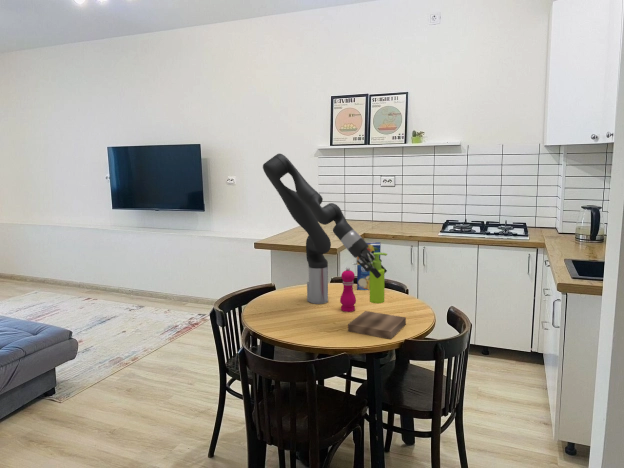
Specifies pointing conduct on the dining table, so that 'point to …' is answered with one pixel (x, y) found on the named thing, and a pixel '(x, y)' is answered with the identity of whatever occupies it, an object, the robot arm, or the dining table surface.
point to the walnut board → (377, 324)
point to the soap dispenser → (377, 282)
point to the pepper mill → (348, 291)
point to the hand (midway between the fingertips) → (382, 274)
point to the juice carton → (362, 274)
